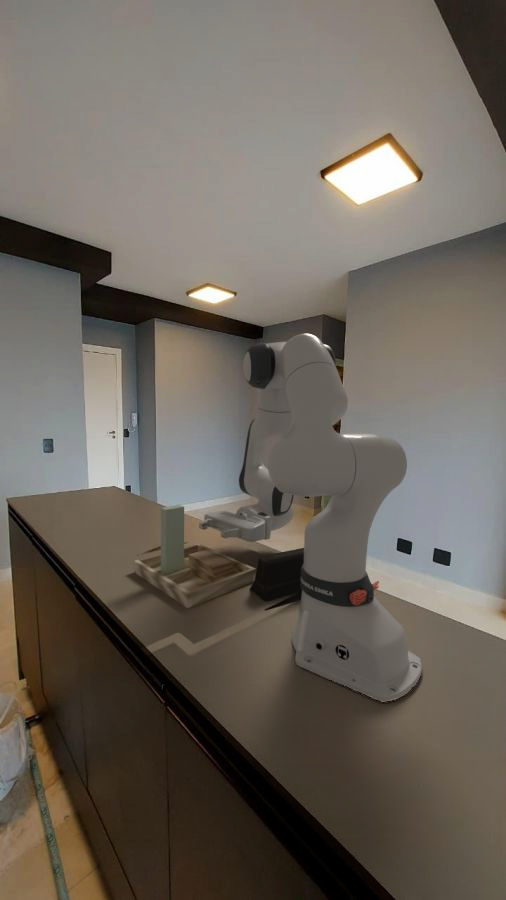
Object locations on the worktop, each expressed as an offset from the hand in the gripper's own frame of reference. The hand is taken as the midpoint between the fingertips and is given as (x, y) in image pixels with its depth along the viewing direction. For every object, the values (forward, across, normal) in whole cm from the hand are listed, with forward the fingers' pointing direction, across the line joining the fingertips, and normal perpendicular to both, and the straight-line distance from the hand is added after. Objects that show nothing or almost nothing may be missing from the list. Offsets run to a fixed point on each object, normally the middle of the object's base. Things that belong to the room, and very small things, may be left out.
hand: (211, 530), depth 98 cm
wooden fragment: (-3, -20, +12) cm, 24 cm away
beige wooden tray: (+7, +2, +12) cm, 13 cm away
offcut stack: (+3, +3, +10) cm, 11 cm away
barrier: (-9, +22, +12) cm, 27 cm away
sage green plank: (+12, 0, +10) cm, 15 cm away
